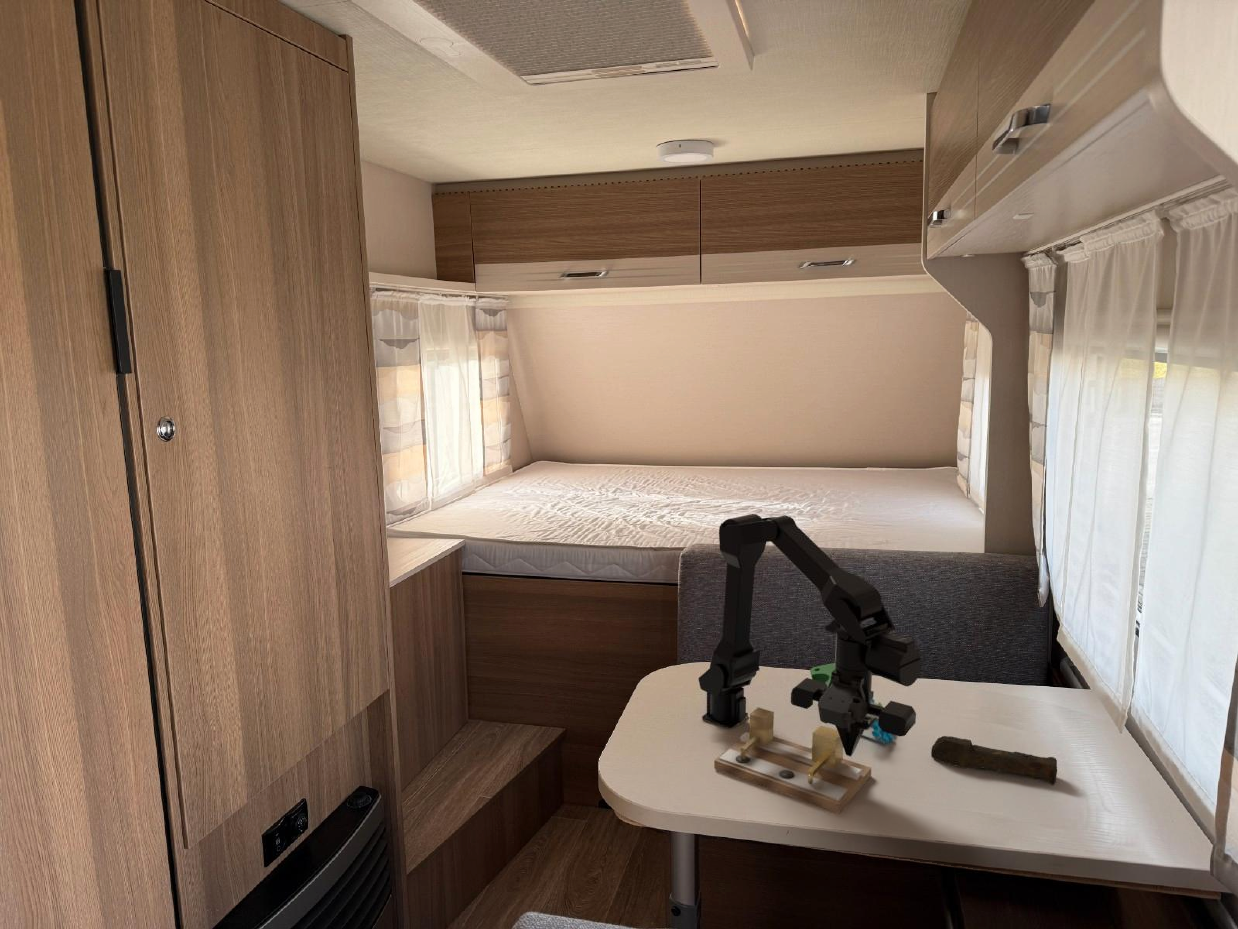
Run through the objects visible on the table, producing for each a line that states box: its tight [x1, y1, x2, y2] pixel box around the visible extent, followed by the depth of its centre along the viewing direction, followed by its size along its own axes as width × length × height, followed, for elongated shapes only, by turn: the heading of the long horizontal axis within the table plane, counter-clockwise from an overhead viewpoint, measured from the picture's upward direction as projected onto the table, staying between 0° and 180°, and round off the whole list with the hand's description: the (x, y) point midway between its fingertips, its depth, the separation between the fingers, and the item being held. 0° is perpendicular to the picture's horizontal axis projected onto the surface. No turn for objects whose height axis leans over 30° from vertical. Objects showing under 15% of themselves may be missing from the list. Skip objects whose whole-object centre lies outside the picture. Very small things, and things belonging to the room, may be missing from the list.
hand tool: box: [930, 735, 1058, 786], centre depth 141 cm, size 19×4×5 cm, turn 65°
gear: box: [870, 697, 895, 745], centre depth 153 cm, size 11×6×10 cm
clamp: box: [809, 662, 835, 688], centre depth 166 cm, size 12×6×9 cm, turn 170°
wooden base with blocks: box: [713, 707, 872, 814], centre depth 141 cm, size 22×13×8 cm, turn 53°
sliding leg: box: [808, 724, 844, 783], centre depth 137 cm, size 4×8×6 cm, turn 143°
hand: (849, 755), depth 137 cm, fingers closed
